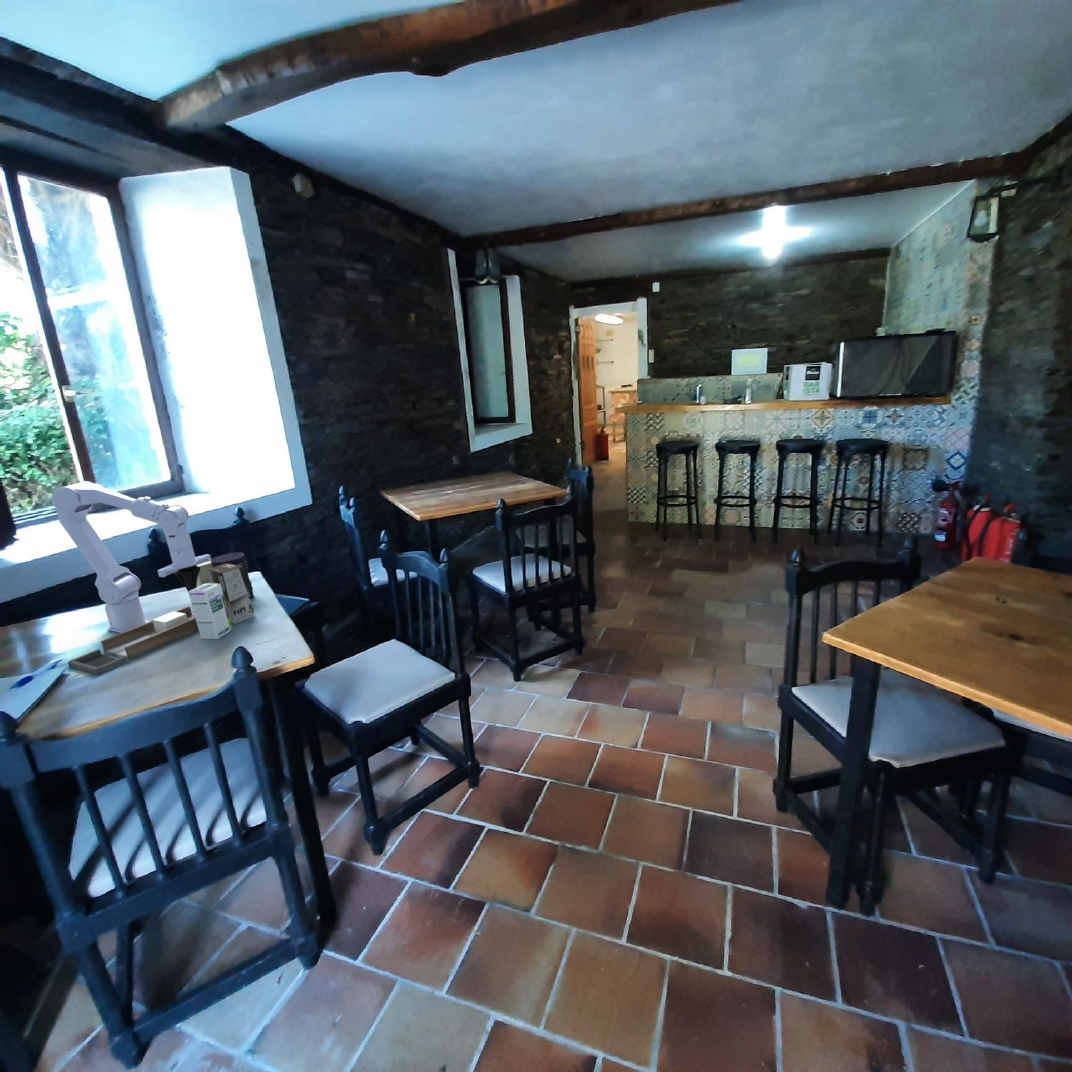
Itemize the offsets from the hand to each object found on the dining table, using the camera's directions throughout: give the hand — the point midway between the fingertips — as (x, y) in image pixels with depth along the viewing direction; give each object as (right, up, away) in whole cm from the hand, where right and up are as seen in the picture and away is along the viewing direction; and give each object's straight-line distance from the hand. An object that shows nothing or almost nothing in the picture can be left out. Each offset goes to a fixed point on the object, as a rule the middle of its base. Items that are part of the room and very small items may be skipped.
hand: (192, 591), depth 163 cm
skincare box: (-7, -4, +21) cm, 23 cm away
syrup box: (+12, -12, -8) cm, 18 cm away
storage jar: (+4, -5, +17) cm, 18 cm away
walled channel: (-4, -12, -7) cm, 14 cm away
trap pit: (-11, -17, -21) cm, 29 cm away
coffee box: (+12, -8, +3) cm, 15 cm away
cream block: (-3, -10, -4) cm, 12 cm away
